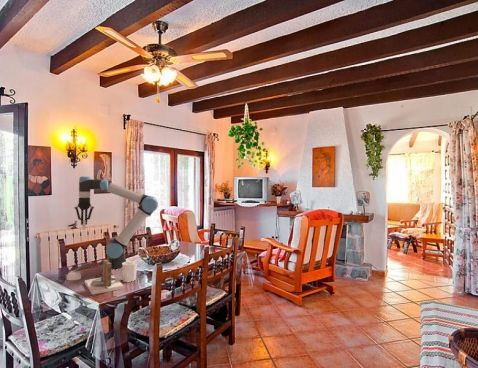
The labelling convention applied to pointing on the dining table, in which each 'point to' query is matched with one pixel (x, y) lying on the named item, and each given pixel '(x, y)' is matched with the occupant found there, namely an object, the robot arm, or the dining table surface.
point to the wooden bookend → (105, 276)
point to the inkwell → (77, 272)
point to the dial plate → (102, 289)
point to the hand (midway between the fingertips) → (83, 229)
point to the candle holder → (129, 271)
